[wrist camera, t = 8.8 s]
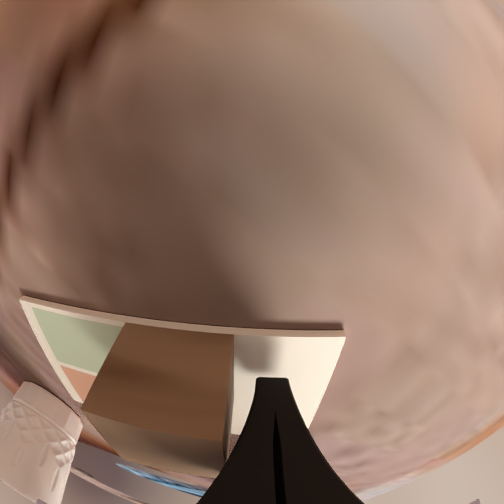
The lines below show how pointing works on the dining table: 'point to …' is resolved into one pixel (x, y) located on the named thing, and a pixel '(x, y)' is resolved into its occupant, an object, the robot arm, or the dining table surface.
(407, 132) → the dining table surface
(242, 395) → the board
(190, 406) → the block
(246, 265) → the dining table surface
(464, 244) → the dining table surface
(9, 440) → the white cup
